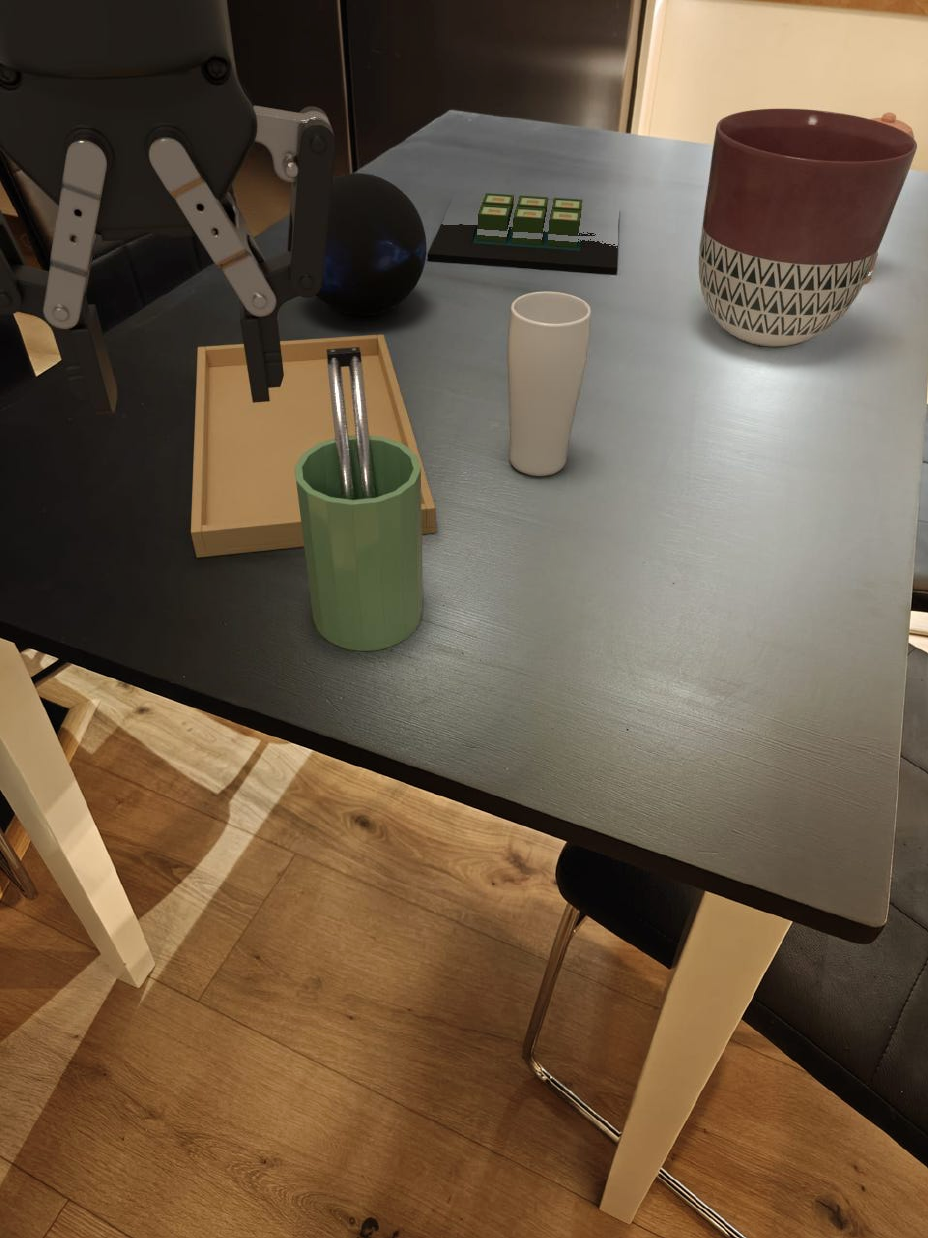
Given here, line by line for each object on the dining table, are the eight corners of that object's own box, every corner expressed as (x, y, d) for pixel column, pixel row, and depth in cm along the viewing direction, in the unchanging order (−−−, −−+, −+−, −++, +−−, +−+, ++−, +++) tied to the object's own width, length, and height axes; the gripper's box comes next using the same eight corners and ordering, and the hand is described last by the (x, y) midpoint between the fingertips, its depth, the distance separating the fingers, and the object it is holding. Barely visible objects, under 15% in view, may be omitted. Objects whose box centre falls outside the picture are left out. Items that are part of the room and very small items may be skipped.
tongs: (356, 637, 66) (337, 409, 54) (345, 566, 72) (325, 347, 60) (388, 633, 66) (375, 406, 54) (373, 563, 72) (359, 345, 60)
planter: (821, 392, 95) (890, 175, 81) (651, 344, 103) (687, 138, 88) (869, 326, 108) (936, 128, 93) (714, 288, 115) (754, 98, 101)
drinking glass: (586, 475, 83) (607, 318, 73) (519, 489, 81) (530, 330, 71) (554, 438, 87) (569, 285, 77) (489, 451, 85) (496, 296, 75)
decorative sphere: (275, 319, 106) (257, 183, 96) (345, 275, 116) (336, 148, 105) (385, 348, 101) (379, 208, 91) (449, 300, 111) (450, 169, 100)
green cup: (317, 657, 65) (299, 509, 56) (309, 584, 71) (291, 440, 62) (430, 643, 66) (429, 496, 57) (413, 573, 72) (409, 430, 63)
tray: (196, 558, 73) (190, 532, 71) (202, 369, 96) (197, 346, 95) (435, 533, 76) (435, 507, 74) (384, 356, 99) (383, 333, 98)
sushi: (618, 210, 136) (622, 184, 133) (616, 274, 118) (620, 245, 115) (454, 199, 138) (455, 173, 136) (427, 260, 120) (427, 231, 117)
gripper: (-256, -132, 22) (-18, 464, 33) (339, -124, 24) (371, 431, 36) (-162, -148, 27) (15, 369, 39) (317, -141, 29) (350, 346, 41)
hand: (185, 397), depth 37 cm, fingers open, 5 cm apart
